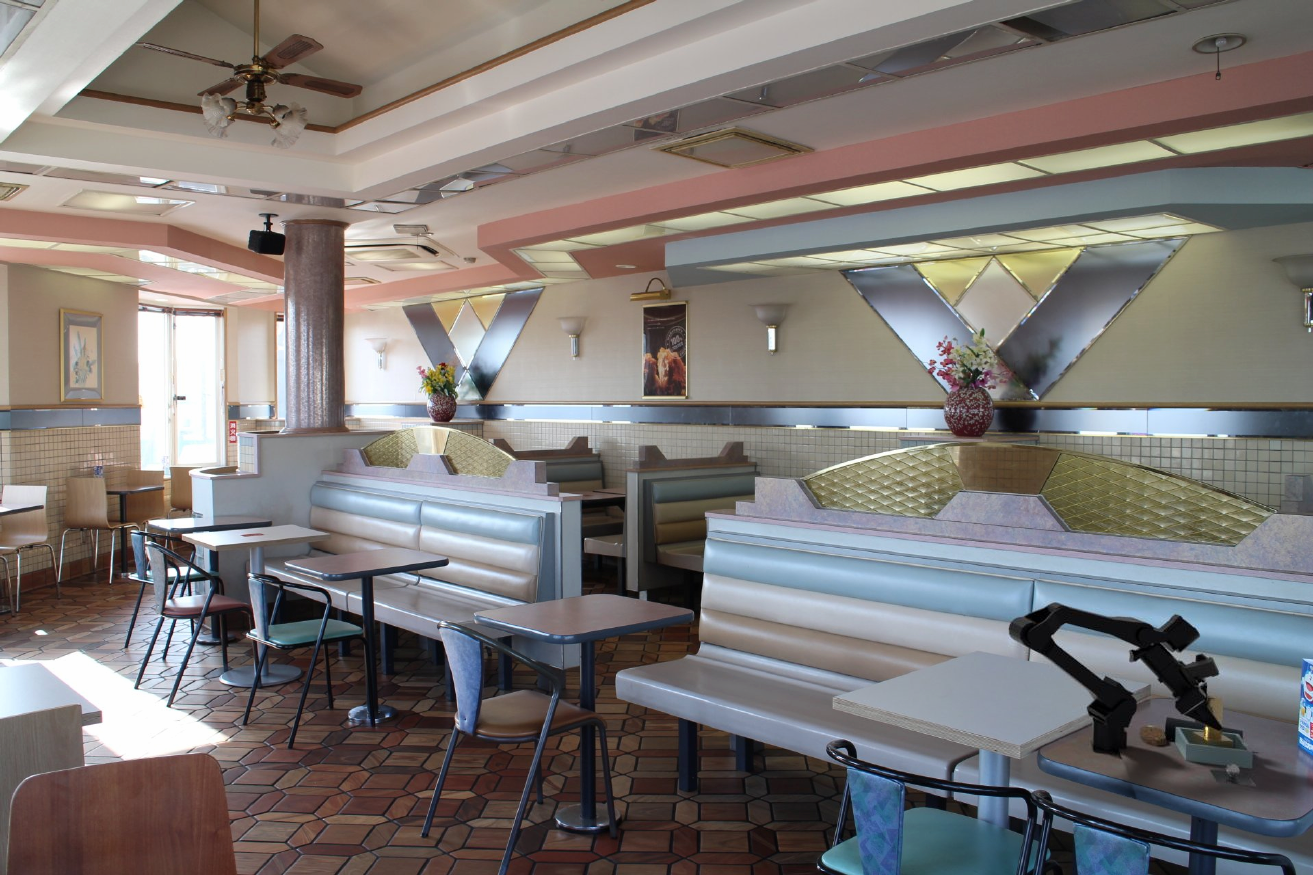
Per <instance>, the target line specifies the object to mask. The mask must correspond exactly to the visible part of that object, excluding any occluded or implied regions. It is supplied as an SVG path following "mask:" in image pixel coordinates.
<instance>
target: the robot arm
mask: <svg viewBox="0 0 1313 875" xmlns="http://www.w3.org/2000/svg"><path fill="white" fill-rule="evenodd" d="M1065 624H1067V625H1071V626H1076V627H1080V628H1083V629H1088V630H1091V631H1095V632H1098V633H1101V634H1102V633H1103V634H1107V635H1110V636H1112V637H1115V638H1117V639H1119V640H1121V641H1123V642H1125V643H1128V644H1131V645H1132V646H1134V647H1137V648H1136V649H1130V650H1129V651H1128V652H1129V659H1128V660H1129V662H1130V663H1135V662H1137V661H1138V660H1140V661H1141V662H1142V663H1143V664H1144V665H1145V666H1146V667H1147V668H1148V669H1149V670H1150V672H1152V674H1154V675H1155V676H1156V677H1157V681H1158V682H1159V683H1160V684H1162V683H1163V685H1164V686H1165V687H1166V688H1167V689H1168V690H1169V691H1170V692H1171V695H1172V696H1173V698H1174V700H1175V702H1174V705H1175V706H1174V709H1176V710H1177V711H1178V713H1180V714H1181V715H1184V717H1188V718H1191V719H1192V720H1194V721H1195V720H1197V721H1199V722H1201V723H1203V724H1205V725H1207V726H1209V727H1211V728H1213V729H1215V730H1218V731H1220V730H1222V729H1223V727H1224V726H1223V725H1222V726H1221V724H1220V723H1219V721H1218V720H1217V718H1216V717H1215V716H1214V714H1213V713H1212V711H1211V710H1210V709H1209V707H1208V696H1207V695H1209V694H1208V682H1207V681H1206V678H1210V677H1211V678H1213V677H1217V676H1220V669H1219V668H1218V666H1217V664H1216V661H1215V659H1214V657H1211V656H1209V657H1208V656H1206V655H1205V654H1204V653H1198V654H1195V661H1191V662H1190V663H1187V664H1186V663H1184V662H1185V661H1183V660H1180V659H1177V658H1175V656H1174V655H1173V654H1172V653H1174V652H1177V653H1180V654H1181V653H1183V651H1185V650H1186V649H1187V648H1188V647H1189V646H1191V645H1192V644H1193V643H1194V642H1195V641H1197V640H1199V638H1200V637H1201V634H1200V632H1199V630H1198V629H1197V628H1196V627H1195V626H1193V624H1191V623H1190V622H1188V621H1187V620H1186V619H1184V617H1182V615H1180V614H1176V613H1174V615H1172V616H1171V617H1170V618H1169V620H1167V621H1166V622H1165V623H1163V625H1161V626H1160V627H1159V628H1158V627H1155V626H1154V625H1152V624H1151V623H1149V622H1146V621H1143V620H1140V619H1138V618H1135V617H1131V616H1121V615H1120V616H1119V615H1118V616H1106V615H1104V614H1103V615H1102V614H1099V613H1095V612H1091V611H1087V610H1084V609H1080V608H1077V607H1072V606H1068V605H1065V604H1063V603H1060V602H1051V603H1049V604H1048V605H1046V606H1045V607H1042V608H1039V609H1036V610H1034V611H1031V612H1028V613H1027V614H1025V615H1024V616H1019V617H1018V616H1017V617H1015V618H1013V620H1011V621H1010V623H1009V626H1008V635H1009V637H1010V638H1011V639H1012V640H1013V641H1015V642H1017V643H1019V644H1021V645H1023V646H1024V647H1027V648H1028V649H1031V650H1032V651H1034V652H1036V653H1037V654H1039V655H1042V656H1043V657H1044V658H1045V659H1047V660H1048V661H1049V662H1051V663H1052V664H1053V665H1055V666H1056V667H1057V668H1058V669H1059V670H1061V671H1062V672H1063V673H1065V674H1066V675H1068V676H1069V677H1070V678H1071V679H1073V680H1074V681H1075V682H1077V683H1078V685H1080V686H1081V687H1083V688H1084V689H1086V690H1087V692H1088V693H1089V695H1090V696H1091V699H1093V700H1092V701H1091V702H1090V703H1089V704H1088V705H1087V706H1086V711H1087V714H1088V716H1089V717H1091V718H1092V719H1091V720H1092V721H1091V740H1090V745H1091V746H1090V747H1091V749H1092V751H1093V752H1097V753H1104V754H1105V753H1106V754H1113V755H1114V754H1115V755H1121V752H1120V750H1127V747H1128V732H1127V730H1126V729H1127V728H1129V727H1130V724H1131V722H1132V719H1133V716H1134V715H1136V712H1137V708H1138V701H1137V699H1136V698H1135V697H1134V696H1133V695H1134V692H1133V691H1130V690H1128V689H1127V688H1125V686H1124V685H1123V684H1122V683H1120V681H1117V680H1115V679H1113V678H1111V677H1109V676H1107V675H1105V676H1104V677H1103V679H1102V678H1101V677H1099V676H1098V675H1096V674H1095V673H1094V672H1093V671H1091V670H1090V669H1088V668H1087V667H1086V666H1085V665H1084V664H1082V663H1081V662H1080V661H1078V660H1077V659H1076V658H1074V657H1073V656H1072V655H1071V654H1070V653H1068V652H1067V651H1066V650H1065V649H1063V648H1062V647H1060V646H1059V645H1058V644H1057V643H1056V641H1055V640H1054V638H1053V636H1055V633H1057V632H1058V631H1059V630H1060V628H1061V627H1062V626H1064V625H1065ZM1201 683H1202V684H1201Z"/></svg>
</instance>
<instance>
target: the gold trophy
mask: <svg viewBox="0 0 1313 875" xmlns="http://www.w3.org/2000/svg"><path fill="white" fill-rule="evenodd" d="M1207 696H1208V707H1209V709H1210V710H1211V711H1212V713H1213V714H1214V716H1215V717H1216V718H1217V720H1218V721H1219V723H1220V724H1221V726H1222V727H1223V710H1224V709H1223V707H1224V706H1223V702H1224V698H1223V697H1221V696H1218V695H1210V694H1208V695H1207ZM1192 744H1197V745H1206V746H1214V747H1223V748H1231V749H1233V741H1232V740H1231V739H1229V738H1227V737H1225V736H1224V735H1222V730H1220V731H1218V730H1215V729H1213V728H1211V727H1209V726H1207V725H1205V724H1204V732H1193V739H1192Z"/></svg>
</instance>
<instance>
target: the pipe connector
mask: <svg viewBox="0 0 1313 875" xmlns="http://www.w3.org/2000/svg"><path fill="white" fill-rule="evenodd" d="M1164 727H1165V728H1164V732H1165V736H1166V738H1168V739H1167V740H1170V739H1173V740H1172V741H1175V738H1176V727H1181V728H1189V729H1198V730H1204V724H1203V723H1201V722H1199V721H1197V720H1195V719H1194V721H1190V720H1186V719H1185V720H1184V719H1180V718H1174V717H1168V716H1167V717H1166V720H1165V725H1164ZM1222 727H1223V729H1222V732H1225V733H1233V734H1239V735H1240V737H1241V738H1242V739H1243V740H1244V731H1243V730H1242V729H1236V728H1230V727H1224V726H1222Z"/></svg>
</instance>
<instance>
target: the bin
mask: <svg viewBox="0 0 1313 875" xmlns="http://www.w3.org/2000/svg"><path fill="white" fill-rule="evenodd" d="M1193 732H1204V730H1198V729H1189V728H1181V727H1176V738H1175V740H1174V741H1175V742H1174V743H1175V744H1176V746H1177V748H1178V750H1179V751H1180V753H1181V755H1182V757H1183V759H1184V760H1185V761H1186V762H1194V763H1204V764H1209V765H1219V766H1220V765H1221V766H1226V767H1227V765H1229V764H1235V765H1237V766H1238V768H1244V769H1251V770H1252V769H1253V754H1254V752H1253V750H1252V749H1251V748H1250V747H1249V745H1248V744H1247V743H1246V742H1245V740H1244V738H1243V739H1242V738H1241V737H1240V735H1239V734H1233V733H1225V732H1222V735H1224V736H1225V737H1227V738H1229V739H1231V740H1232V741H1233V749H1231V748H1223V747H1214V746H1206V745H1197V744H1192V739H1193Z"/></svg>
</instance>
